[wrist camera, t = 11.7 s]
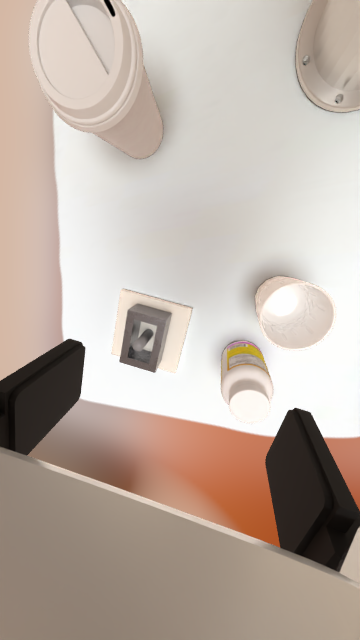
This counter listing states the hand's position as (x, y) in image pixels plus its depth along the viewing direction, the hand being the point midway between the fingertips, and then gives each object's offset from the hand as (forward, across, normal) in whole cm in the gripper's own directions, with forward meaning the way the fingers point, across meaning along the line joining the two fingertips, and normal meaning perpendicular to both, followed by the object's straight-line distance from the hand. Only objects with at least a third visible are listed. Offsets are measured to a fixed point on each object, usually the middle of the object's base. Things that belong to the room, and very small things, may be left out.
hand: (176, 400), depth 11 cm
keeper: (+28, +8, +10) cm, 31 cm away
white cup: (+28, -10, -1) cm, 30 cm away
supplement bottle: (+28, -8, +10) cm, 31 cm away
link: (+27, +8, +10) cm, 30 cm away
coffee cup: (+28, +15, -18) cm, 37 cm away
